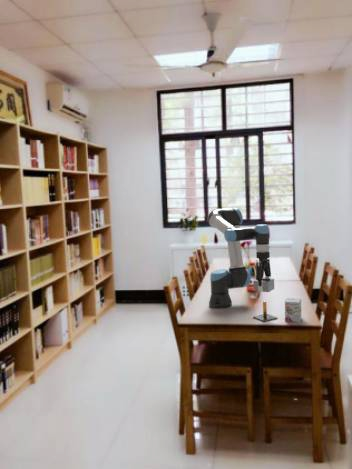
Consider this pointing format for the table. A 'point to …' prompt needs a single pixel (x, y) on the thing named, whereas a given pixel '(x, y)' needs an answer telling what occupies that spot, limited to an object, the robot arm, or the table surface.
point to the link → (265, 284)
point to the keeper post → (265, 315)
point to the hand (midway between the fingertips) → (264, 289)
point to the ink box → (293, 310)
